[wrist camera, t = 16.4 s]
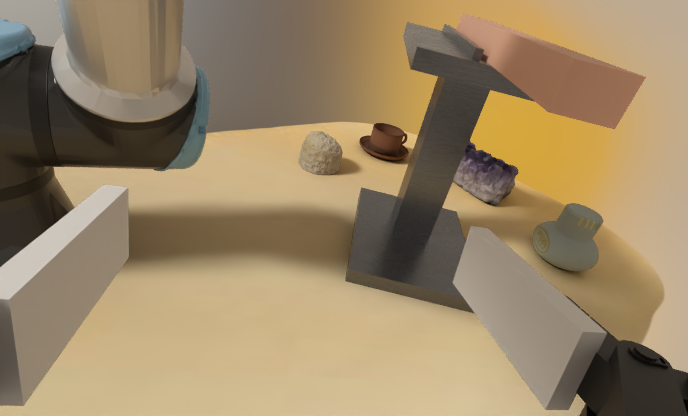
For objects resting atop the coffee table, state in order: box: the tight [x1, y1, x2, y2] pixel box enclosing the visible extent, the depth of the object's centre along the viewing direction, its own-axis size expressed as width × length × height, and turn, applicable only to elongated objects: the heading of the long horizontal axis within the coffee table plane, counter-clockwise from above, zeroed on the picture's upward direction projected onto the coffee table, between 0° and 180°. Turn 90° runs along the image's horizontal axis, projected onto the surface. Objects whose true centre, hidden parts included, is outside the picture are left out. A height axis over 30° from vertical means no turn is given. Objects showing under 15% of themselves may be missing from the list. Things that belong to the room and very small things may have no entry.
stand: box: [345, 22, 534, 313], centre depth 55 cm, size 28×18×31 cm, turn 173°
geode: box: [453, 140, 518, 205], centre depth 89 cm, size 20×12×10 cm, turn 36°
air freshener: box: [533, 203, 603, 271], centre depth 68 cm, size 11×8×10 cm
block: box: [457, 14, 646, 129], centre depth 39 cm, size 40×4×3 cm, turn 173°
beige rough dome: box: [299, 131, 343, 175], centre depth 80 cm, size 9×9×9 cm
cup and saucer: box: [360, 123, 409, 160], centre depth 94 cm, size 12×12×6 cm
